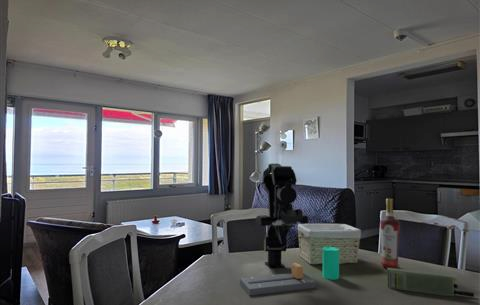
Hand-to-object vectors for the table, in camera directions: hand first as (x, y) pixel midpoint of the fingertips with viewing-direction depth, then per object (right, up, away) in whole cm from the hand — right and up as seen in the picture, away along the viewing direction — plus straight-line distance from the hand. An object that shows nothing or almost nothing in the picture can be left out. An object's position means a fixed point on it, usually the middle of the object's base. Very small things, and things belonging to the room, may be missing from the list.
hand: (282, 243), depth 116 cm
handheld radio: (+47, -14, -10) cm, 50 cm away
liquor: (+46, -14, +15) cm, 51 cm away
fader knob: (+5, -10, -4) cm, 12 cm away
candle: (+19, -14, +3) cm, 23 cm away
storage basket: (+24, -15, +25) cm, 37 cm away
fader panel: (-2, -13, -6) cm, 14 cm away
